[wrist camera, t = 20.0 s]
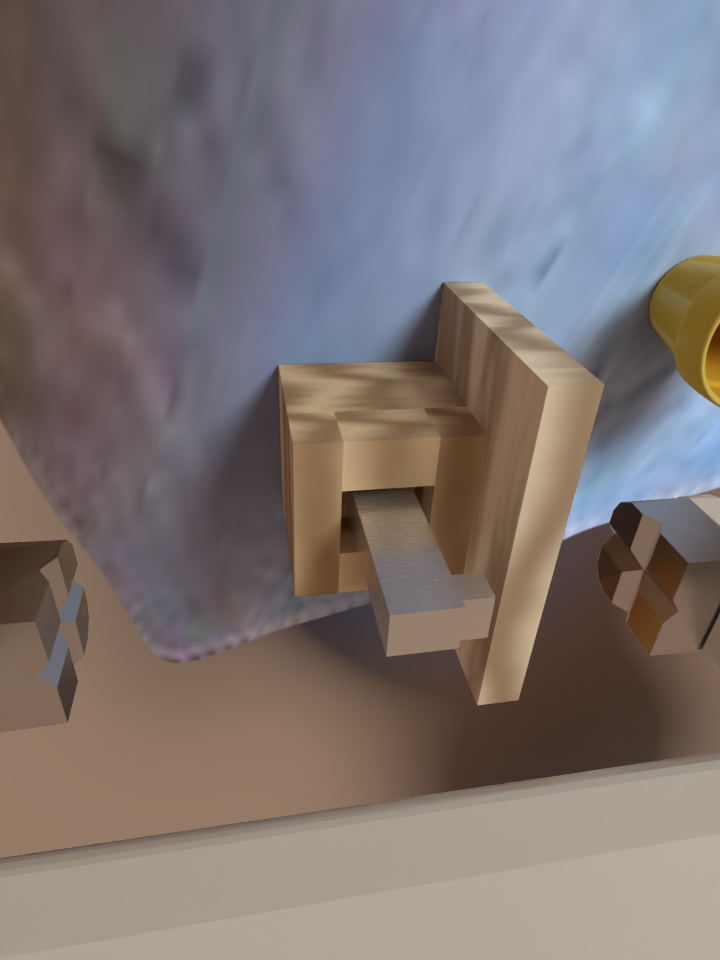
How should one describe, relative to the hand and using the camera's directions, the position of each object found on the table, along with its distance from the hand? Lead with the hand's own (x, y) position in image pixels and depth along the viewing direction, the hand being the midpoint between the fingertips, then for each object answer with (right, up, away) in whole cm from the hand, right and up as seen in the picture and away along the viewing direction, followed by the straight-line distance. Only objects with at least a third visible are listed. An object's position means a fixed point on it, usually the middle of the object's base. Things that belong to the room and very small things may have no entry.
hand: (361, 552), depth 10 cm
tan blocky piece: (+1, +5, +42) cm, 42 cm away
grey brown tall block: (+1, +1, +35) cm, 35 cm away
